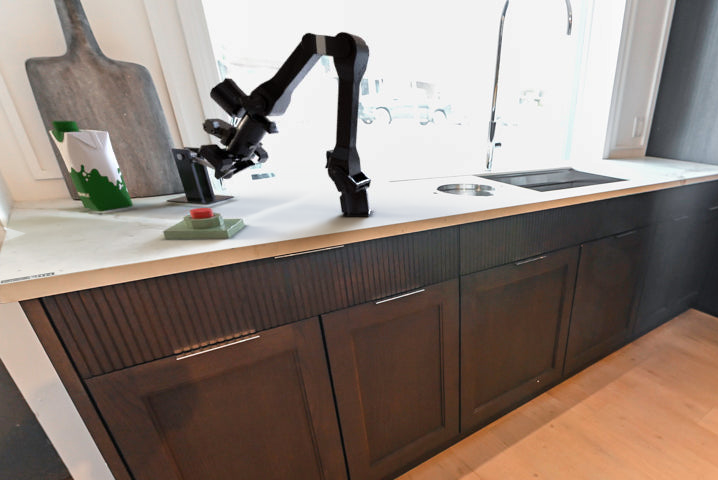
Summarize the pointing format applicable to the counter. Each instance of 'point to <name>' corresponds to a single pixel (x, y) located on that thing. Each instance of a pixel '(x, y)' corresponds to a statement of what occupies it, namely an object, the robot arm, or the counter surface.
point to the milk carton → (91, 166)
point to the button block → (204, 228)
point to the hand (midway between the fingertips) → (221, 177)
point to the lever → (207, 164)
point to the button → (201, 213)
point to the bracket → (194, 179)
